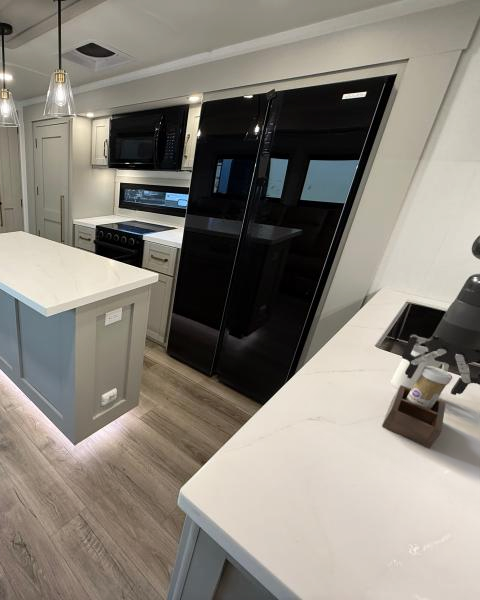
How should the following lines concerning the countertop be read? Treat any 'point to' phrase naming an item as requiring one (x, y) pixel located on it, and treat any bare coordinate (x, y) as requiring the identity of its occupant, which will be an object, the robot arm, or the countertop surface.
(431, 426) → the rack
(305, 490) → the countertop surface
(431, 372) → the sprinkles bottle
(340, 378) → the countertop surface
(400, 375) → the mug
